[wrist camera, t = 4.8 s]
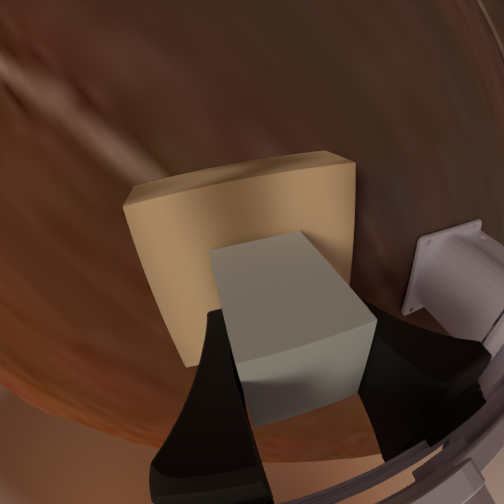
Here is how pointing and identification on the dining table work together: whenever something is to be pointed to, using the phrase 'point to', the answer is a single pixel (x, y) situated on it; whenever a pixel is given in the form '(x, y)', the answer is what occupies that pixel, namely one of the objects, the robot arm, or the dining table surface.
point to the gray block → (291, 326)
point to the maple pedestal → (235, 227)
